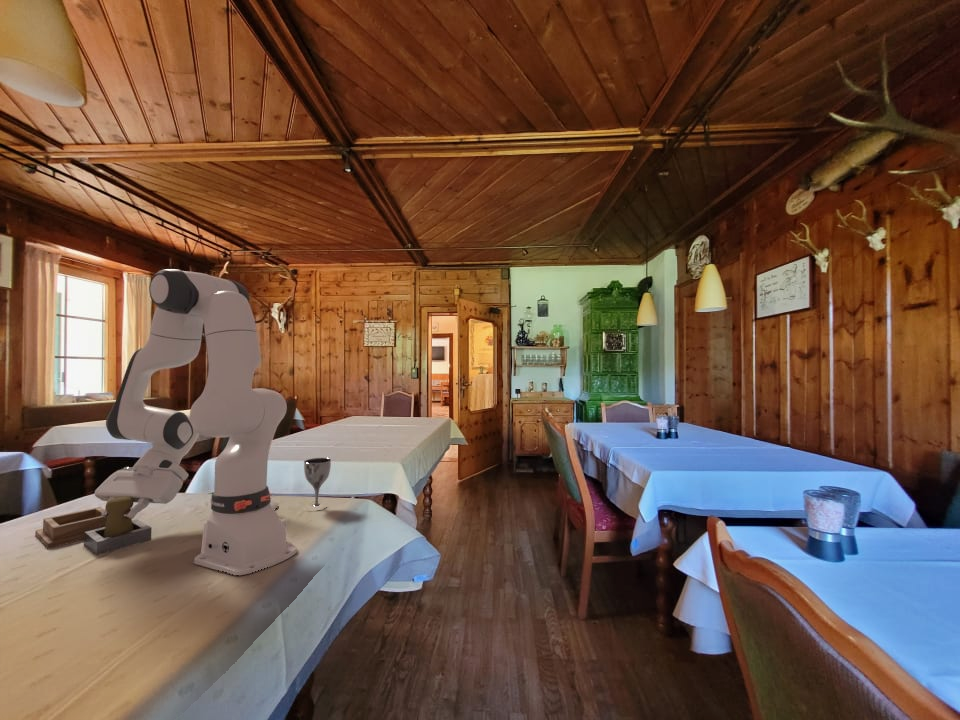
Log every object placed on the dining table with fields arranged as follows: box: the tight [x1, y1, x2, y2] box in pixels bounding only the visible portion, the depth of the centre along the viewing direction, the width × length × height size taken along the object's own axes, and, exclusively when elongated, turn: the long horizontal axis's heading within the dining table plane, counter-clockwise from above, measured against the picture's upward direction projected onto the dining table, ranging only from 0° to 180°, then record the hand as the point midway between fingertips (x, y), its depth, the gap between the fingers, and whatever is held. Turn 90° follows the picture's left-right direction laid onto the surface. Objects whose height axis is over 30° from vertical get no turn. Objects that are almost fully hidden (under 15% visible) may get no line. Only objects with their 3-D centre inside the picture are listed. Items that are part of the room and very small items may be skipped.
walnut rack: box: [34, 506, 107, 549], centre depth 103 cm, size 14×13×4 cm
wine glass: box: [303, 457, 332, 507], centre depth 123 cm, size 8×8×15 cm
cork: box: [103, 497, 135, 538], centre depth 97 cm, size 6×6×11 cm
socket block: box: [83, 519, 152, 556], centre depth 97 cm, size 10×10×3 cm
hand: (116, 517), depth 97 cm, fingers closed on cork, 5 cm apart
